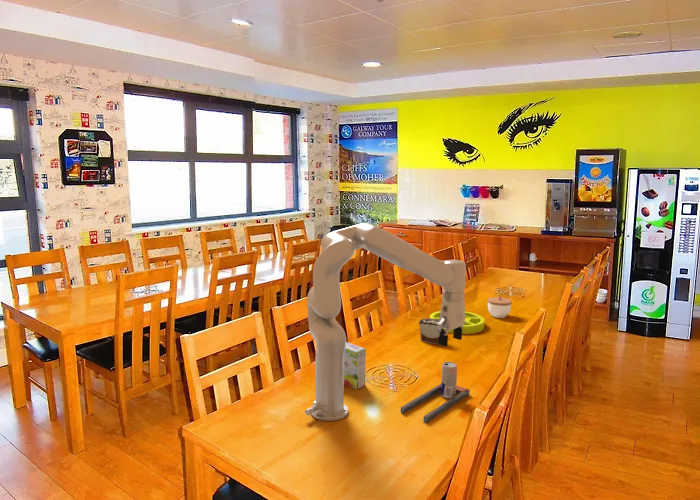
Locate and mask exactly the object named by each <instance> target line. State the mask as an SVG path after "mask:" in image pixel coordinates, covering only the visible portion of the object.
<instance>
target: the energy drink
mask: <svg viewBox="0 0 700 500" xmlns="http://www.w3.org/2000/svg"><path fill="white" fill-rule="evenodd" d="M457 376H458V366H457V364H456V363H455V362H452V361H444V362H443V363H442V365H441V382H440V384H441V392H440V396H441V397H442V398H443V399H446V400H450V399H452V398H453V397H455V396H456V385H457V382H458V381H457V379H458V377H457Z"/></svg>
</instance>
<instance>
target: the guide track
mask: <svg viewBox="0 0 700 500" xmlns="http://www.w3.org/2000/svg"><path fill="white" fill-rule="evenodd" d="M470 391H471V390H470V389H468V388H467V387H466V388H465V387H462V386H459V385H457V384H456V396H455V397H453V398H452V399H447V401H445V402H444V403H442V404H441V405H439V406H437V407H436V408H435V409H432V410H431V411H430V412H428V413H426V414H425V415H424V416H423V423H425V424H428V423H429V422H431V421H433V420H434V419H435V418H437V417H439V416H440V415H442V414H443V413H444V412H446V411H447V410H449V409H451V408H452V407H454V406H455V405H456V404H458V403H460V402H461V401H462V400H464V399H465V398H467V397H469V396H470ZM439 393H441V383H439V384H438V385H436V386H435V387H433V388H431V389H430V390H428V391H426V392H424V393H422V394H421V395H420V396H418V397H416V398H414V399H412V400H411V401H409V402H407V403H406V404H404V405H402V406H401V407H400V414H403V415H404V414H406V413H408V412H410V411H411V410H412V409H414V408H417V406H419V405H421V404H423V403H424V402H425V401H427V400H429V399H431V398H432V397H434V396H435V395H437V394H439Z"/></svg>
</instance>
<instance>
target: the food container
mask: <svg viewBox="0 0 700 500" xmlns="http://www.w3.org/2000/svg"><path fill="white" fill-rule="evenodd" d="M439 321H440V320H437V319H430V318H422V319H419V321H418V325H419V330H420V331H419V332H420V341H421V342H426V343H430V344H435V345H439V332H438V327H437V324H438V323H439Z"/></svg>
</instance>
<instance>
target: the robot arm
mask: <svg viewBox="0 0 700 500" xmlns="http://www.w3.org/2000/svg"><path fill="white" fill-rule="evenodd" d="M320 247H321V250H322V251H321V252H320V253H319V255H318V256H317V258H316V260H315V262H314V264H313V270H312V287H311V288H310V289H309V291H308V293H307V296H306V304H307V305H306V308H307V318H308V319H307V320H308V321H307V322H308V328H309V333H310V335H311V337H312V338H313V339H314V341H315V343H316V352H315V359H314V369H315V373H314V374H315V379H314V382H315V385H314V386H315V389H314V390H315V393H314V394H315V400H314V401H313V402H312V405H311V407H309V408H307V409H305V410H304V413H305V415H306V416H310V415H311V416H312V417H313V418H315V419H317V420H320V421H324V422H326V421H327V422H332V421H333V422H334V421H338V420H341V419H343V418H346V416H347V415H348V414H349V407H348V406H347V404H345V403H344V401H345V399H344V398H345V385H344V353H345V347H346V342H347V336H346V332H345V330H344V328H343V326H342V325H341V324H340V323H339V322H338V321H337V320H336V317H337V316H338V315H339V314H340V312H341V309H342V301H341V299H342V298H341V287H340V286H341V285H340V274H341V270H342V268H343V267H344V265H345V264H346V263H348V262H349V261H350V260H351V259H352V257H353V256H354V254H355V251H357V250H360V249H364V250H366V251H367V252H369V253H372V254H374V255H376V256H377V257H379V258H382V259H383V260H385V261H387V262H389V263H391V264H392V265H395V266H397V267H399V268H401V269H403V270H406V271H409V272H411V273H414V274H415V275H418V276H420V277H421V278H424V280H427V281H429V282H431V283H433V284H435V285H436V286H439V287H442V292H441V293H442V295H441V299H442V301H441V307H440V311H441V313H440V321H439V323H438V324H437V327H438V332H439V344H438V345H439V346H442V347H448V343H449V341H448V340H449V335H448V331H449V329H450V330H453V329H454V332H453V333H452V334H453V336H452V338H453V339H455V340H458V341H461V340H463V339H462V338H463V336H462V335H463V334H462V329H463V325H464V323H465V311H466V303H465V288H466V276H467V273H466V272H467V264H466V262H465V261H463V260H459V259H448V260H444V259H443V260H441V259H438V258H436V257H434V256H432V255H430V254H428V253H427V252H424V251H423V250H421V249H420V248H418V247H417V246H415V245H413V244H411V243H409V242H407V241H406V240H404V239H402V238H400V237H398V236H396V235H395V234H393V233H391V232H389V231H387V230H386V229H383V228H382V227H379V226H377V225H375V224H371V223H368V222H362V223H358V224H355V225H352V226H351V225H350V226H348V227H345V228H341V229H337V230H333V231H331V232H329V233H327V234H326V235H324V236H323V238H322V240H321V245H320ZM444 329H446V330H445V331H444Z"/></svg>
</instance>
